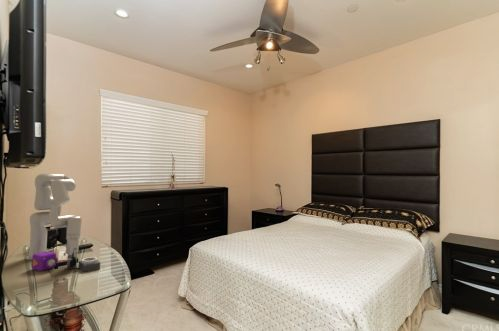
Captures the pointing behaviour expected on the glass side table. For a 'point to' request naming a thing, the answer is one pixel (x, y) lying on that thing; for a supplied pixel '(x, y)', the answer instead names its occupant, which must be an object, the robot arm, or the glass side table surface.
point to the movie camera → (56, 236)
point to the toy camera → (44, 260)
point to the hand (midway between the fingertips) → (71, 264)
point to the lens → (69, 262)
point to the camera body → (89, 264)
